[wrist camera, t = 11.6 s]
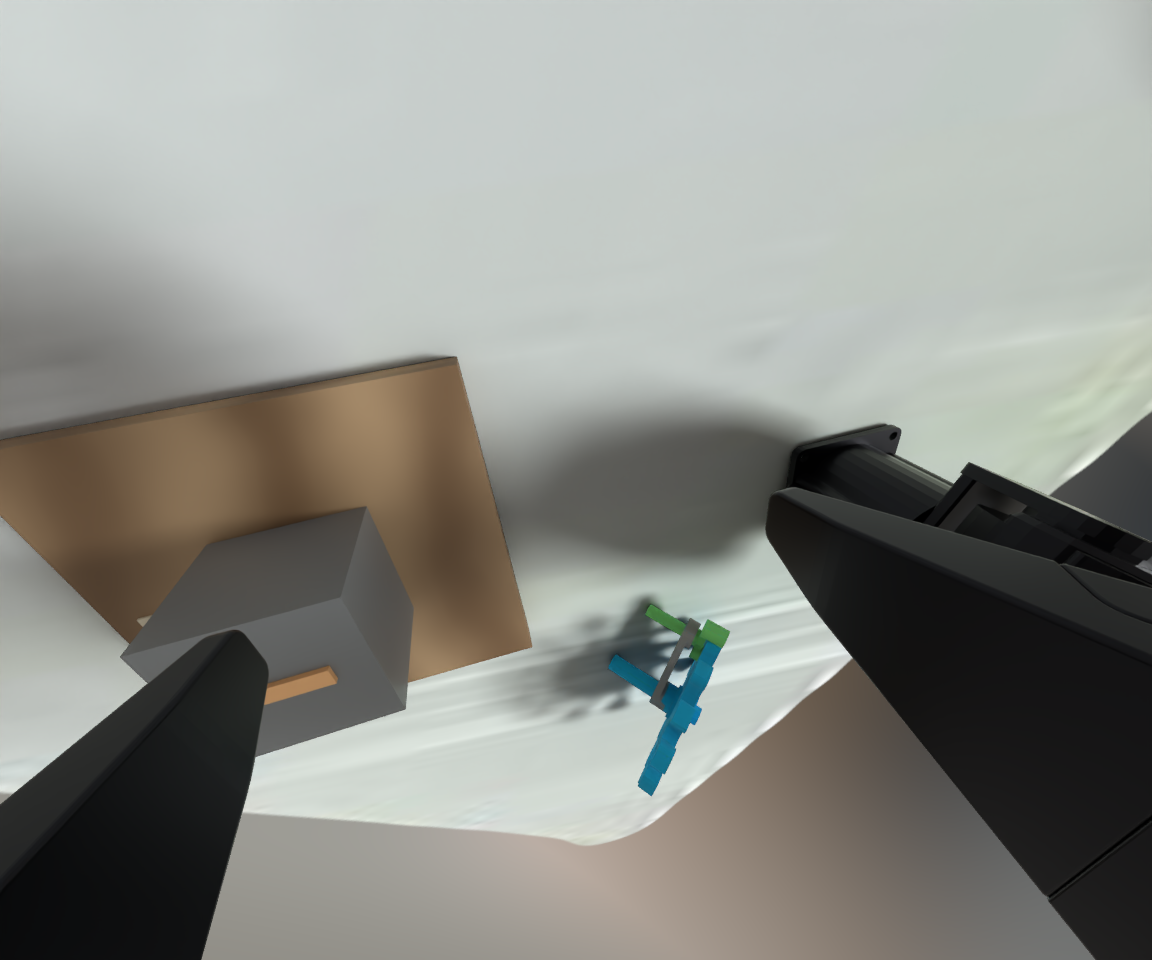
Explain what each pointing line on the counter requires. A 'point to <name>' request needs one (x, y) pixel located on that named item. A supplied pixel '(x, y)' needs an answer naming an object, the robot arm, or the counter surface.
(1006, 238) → the counter surface
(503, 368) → the counter surface
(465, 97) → the counter surface
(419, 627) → the plate
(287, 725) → the grey box with handle
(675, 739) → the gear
